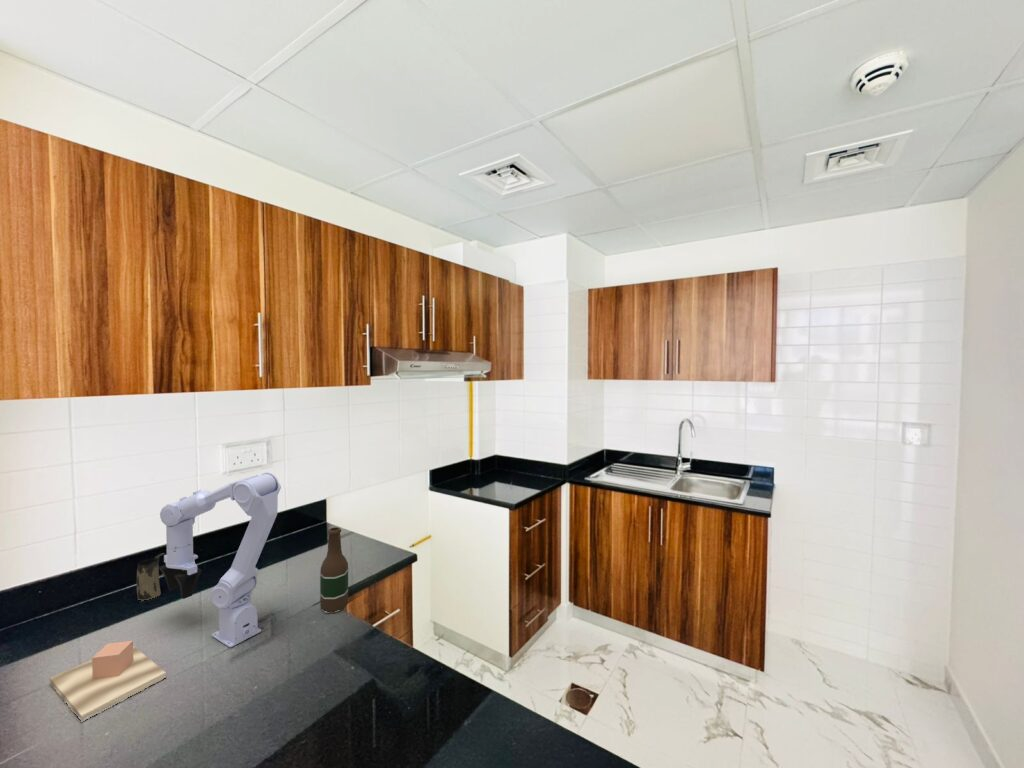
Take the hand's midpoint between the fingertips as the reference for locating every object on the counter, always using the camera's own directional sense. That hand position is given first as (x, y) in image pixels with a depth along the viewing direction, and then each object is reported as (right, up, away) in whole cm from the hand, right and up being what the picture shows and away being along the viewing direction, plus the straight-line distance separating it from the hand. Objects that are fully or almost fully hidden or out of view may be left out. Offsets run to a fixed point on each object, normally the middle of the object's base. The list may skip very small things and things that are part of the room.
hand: (180, 592), depth 116 cm
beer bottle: (+38, -10, +11) cm, 41 cm away
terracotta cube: (-1, -9, -19) cm, 21 cm away
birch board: (0, -10, -20) cm, 23 cm away
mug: (-21, -9, +16) cm, 28 cm away
